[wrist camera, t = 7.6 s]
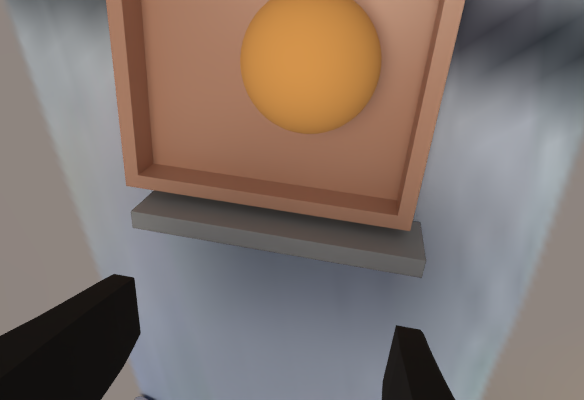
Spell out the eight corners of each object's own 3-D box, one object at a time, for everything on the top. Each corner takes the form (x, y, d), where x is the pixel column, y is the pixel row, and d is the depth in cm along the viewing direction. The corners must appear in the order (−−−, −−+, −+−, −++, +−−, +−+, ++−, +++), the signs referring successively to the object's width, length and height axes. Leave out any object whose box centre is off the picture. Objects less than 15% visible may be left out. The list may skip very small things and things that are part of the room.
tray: (407, 210, 19) (410, 231, 17) (146, 170, 20) (126, 185, 19) (487, -138, 13) (501, -154, 12) (118, -156, 15) (87, -172, 13)
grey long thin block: (416, 237, 19) (421, 277, 17) (164, 197, 21) (132, 227, 18) (420, 222, 19) (426, 260, 16) (163, 182, 21) (131, 211, 18)
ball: (298, 129, 18) (367, 169, 14) (198, 87, 15) (255, 125, 12) (347, 21, 17) (435, 36, 13) (251, -45, 14) (330, -48, 11)
